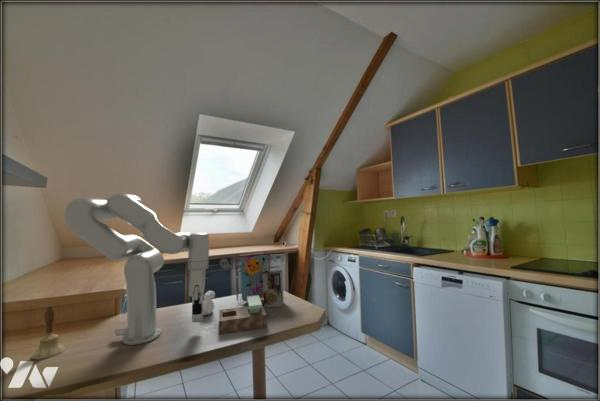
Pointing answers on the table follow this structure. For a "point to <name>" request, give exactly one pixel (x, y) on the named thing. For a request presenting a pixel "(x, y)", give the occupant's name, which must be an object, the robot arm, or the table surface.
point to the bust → (208, 302)
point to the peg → (200, 316)
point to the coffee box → (273, 288)
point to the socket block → (240, 320)
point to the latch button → (254, 304)
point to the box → (250, 274)
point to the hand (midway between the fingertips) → (197, 311)
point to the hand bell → (49, 339)
